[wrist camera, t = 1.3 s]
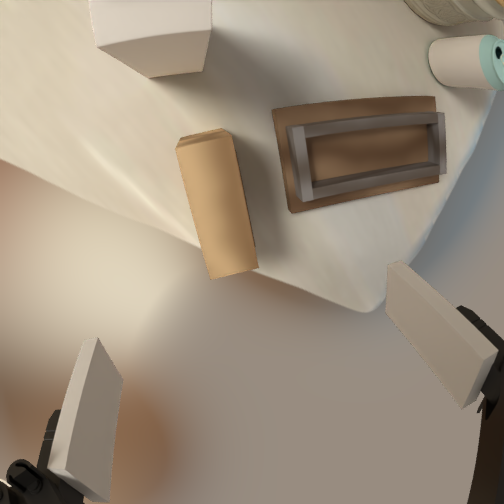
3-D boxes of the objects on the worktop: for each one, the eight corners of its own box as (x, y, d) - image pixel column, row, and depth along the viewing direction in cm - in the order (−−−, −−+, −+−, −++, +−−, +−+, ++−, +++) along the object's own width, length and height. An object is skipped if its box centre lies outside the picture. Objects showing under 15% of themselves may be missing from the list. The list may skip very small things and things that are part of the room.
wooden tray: (271, 109, 33) (280, 109, 29) (427, 96, 34) (447, 97, 31) (288, 209, 38) (298, 221, 35) (432, 179, 40) (450, 187, 36)
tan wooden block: (205, 237, 38) (210, 279, 29) (180, 137, 32) (175, 148, 24) (244, 227, 38) (260, 267, 29) (223, 127, 33) (234, 134, 24)
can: (426, 82, 33) (492, 85, 23) (423, 34, 30) (487, 26, 20) (460, 89, 34) (522, 97, 24) (458, 45, 31) (519, 44, 21)
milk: (202, 71, 30) (219, 16, 10) (146, 78, 29) (74, 39, 9) (200, 21, 27) (215, -88, 8) (143, 27, 26) (82, -66, 7)
